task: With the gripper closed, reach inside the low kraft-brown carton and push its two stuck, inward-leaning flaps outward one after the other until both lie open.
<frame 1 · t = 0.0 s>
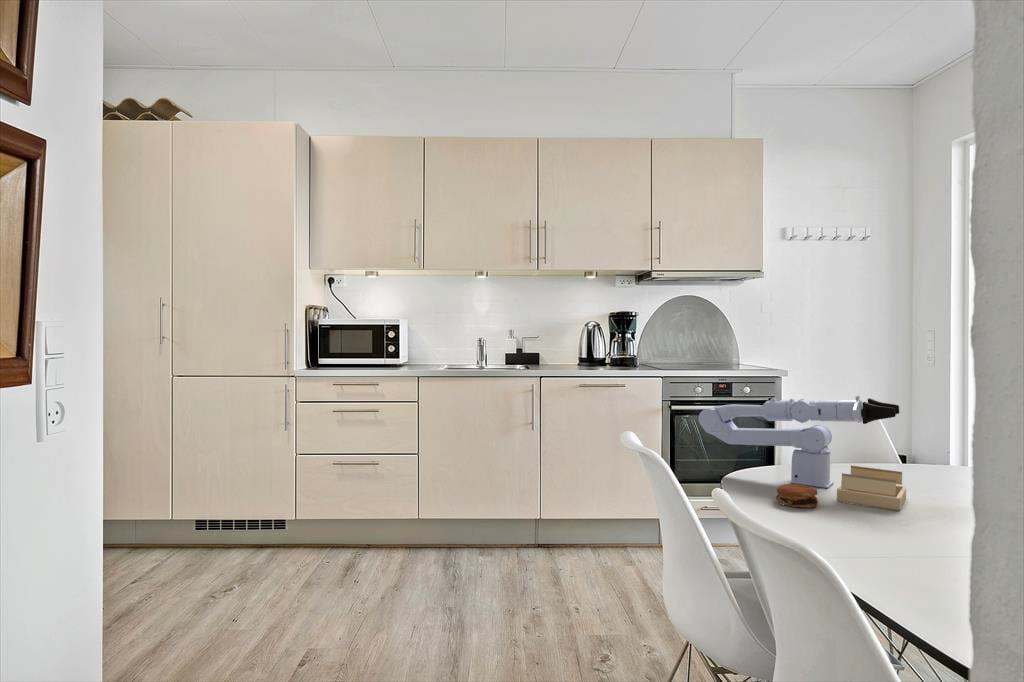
hand: (897, 410, 168), 22 cm above the table, tool horizontal, fingers open, 7 cm apart
flap 1: (868, 484, 159), point 5 cm above the table, hinge at -15.0°
flap 2: (875, 474, 169), point 5 cm above the table, hinge at -15.0°
burger: (796, 505, 161), on the table
carton: (871, 500, 164), on the table
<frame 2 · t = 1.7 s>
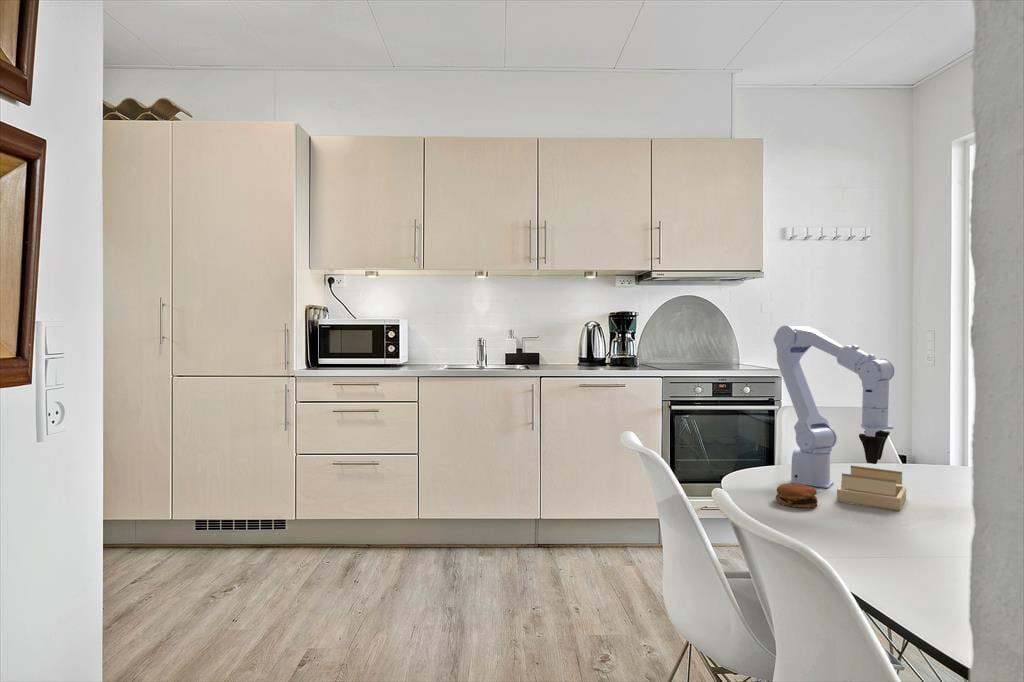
hand: (873, 461, 166), 9 cm above the table, tool pointing down, fingers open, 6 cm apart
nothing on the table moved.
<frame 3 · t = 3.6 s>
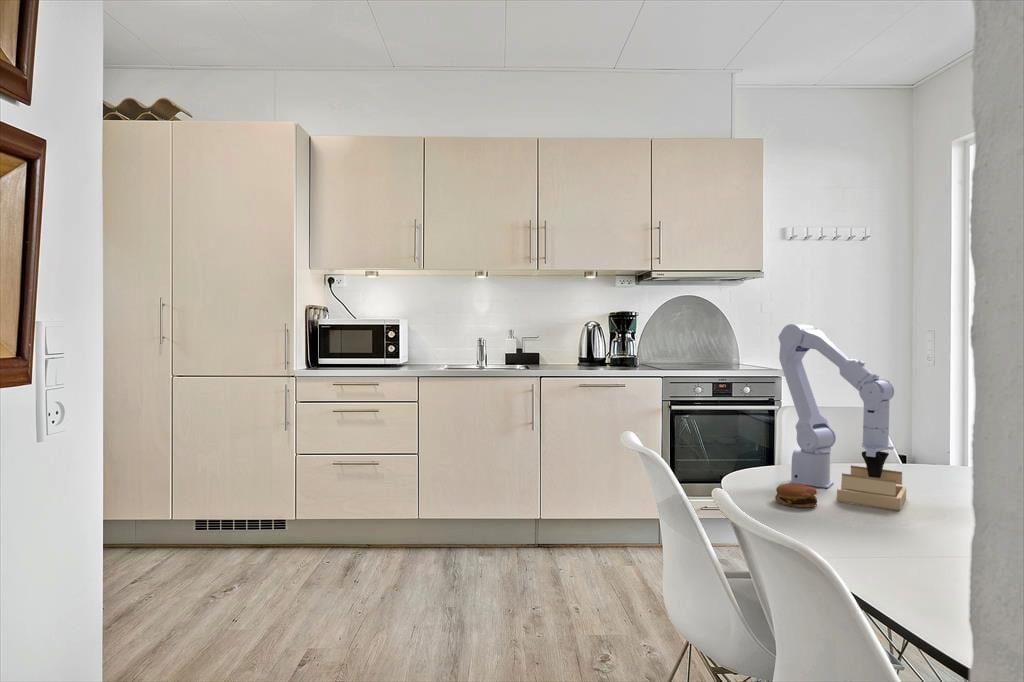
hand: (874, 480, 167), 4 cm above the table, tool pointing down, fingers closed
flap 2: (875, 474, 169), point 5 cm above the table, hinge at -15.0°, touching gripper
everything else where it was.
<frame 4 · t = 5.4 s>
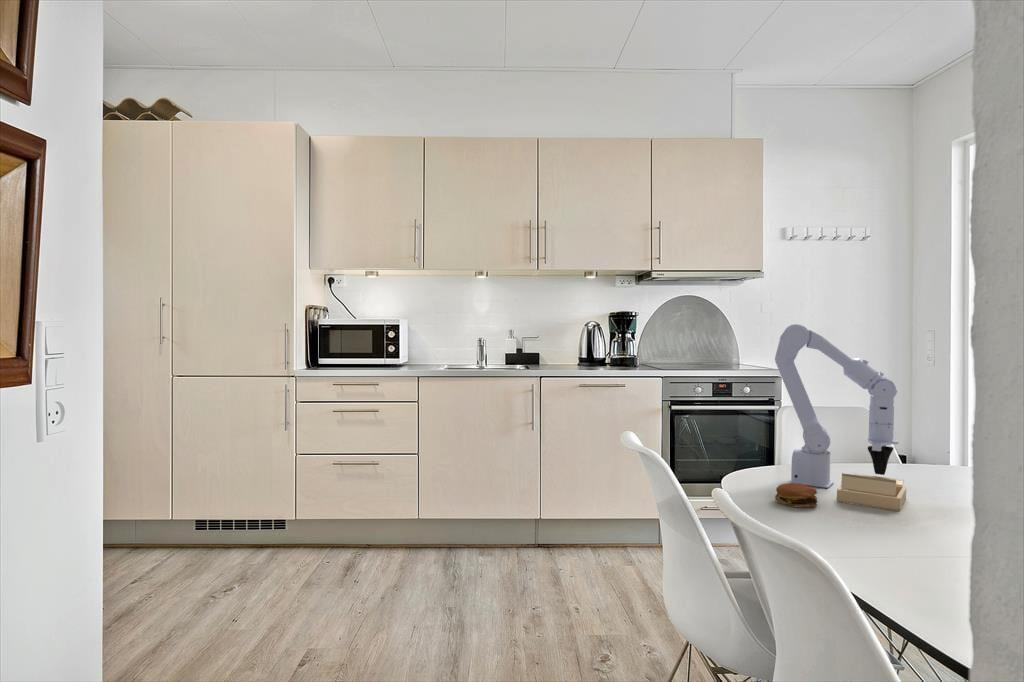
hand: (879, 474, 175), 4 cm above the table, tool pointing down, fingers closed
flap 2: (877, 479, 171), point 3 cm above the table, hinge at 80.3°
everything else where it was.
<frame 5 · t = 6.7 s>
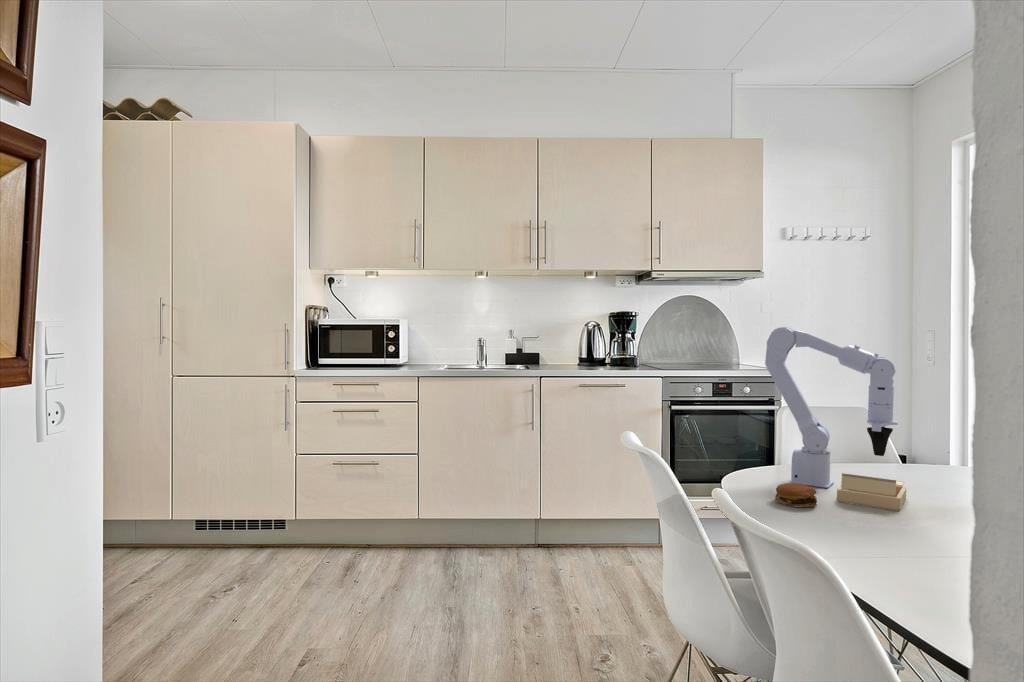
hand: (879, 455, 173), 9 cm above the table, tool pointing down, fingers closed
flap 2: (877, 480, 171), point 3 cm above the table, hinge at 85.8°
everything else where it was.
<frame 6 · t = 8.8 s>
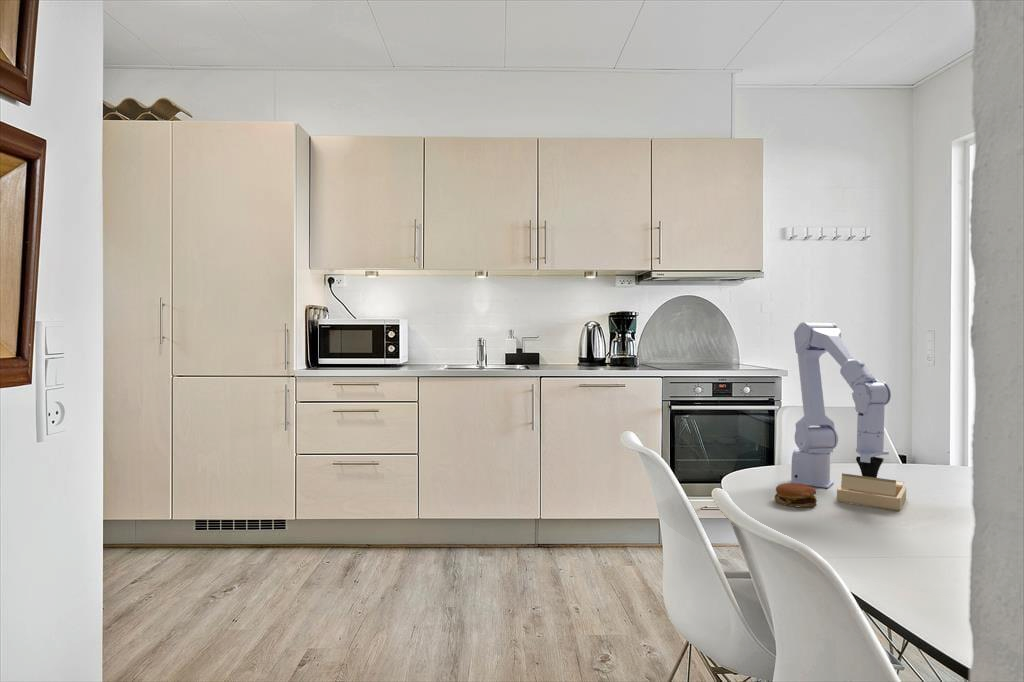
hand: (869, 487, 160), 4 cm above the table, tool pointing down, fingers closed, pressing on flap 1
flap 1: (868, 484, 159), point 5 cm above the table, hinge at -14.6°, touching gripper
flap 2: (877, 480, 171), point 3 cm above the table, hinge at 87.2°
everything else where it was.
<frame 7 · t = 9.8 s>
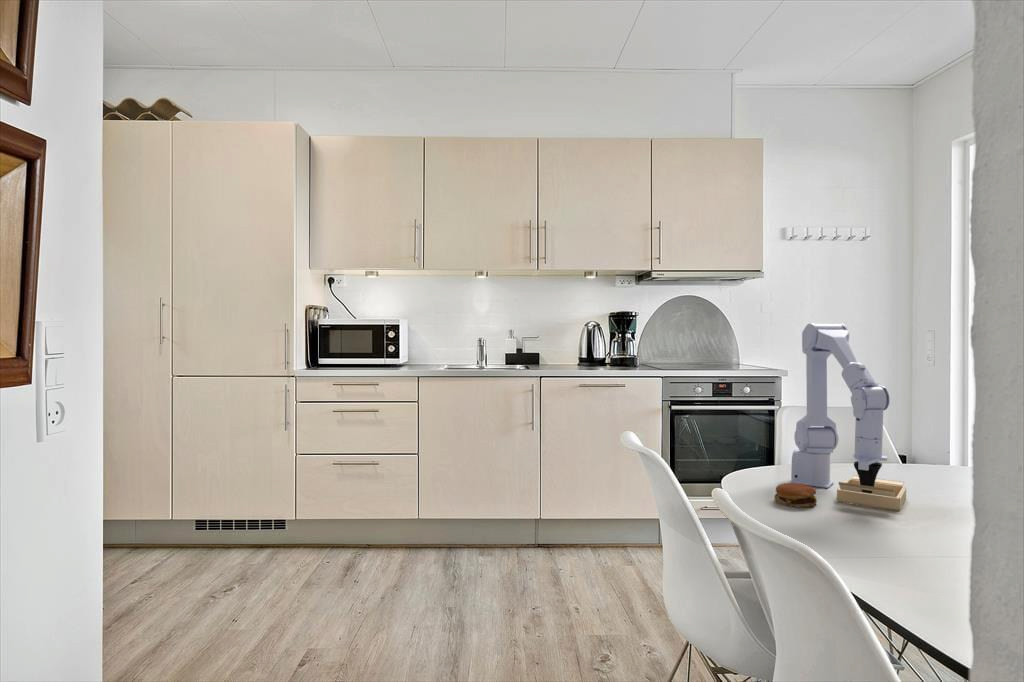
hand: (866, 492, 157), 4 cm above the table, tool pointing down, fingers closed, pressing on flap 1
flap 1: (866, 489, 157), point 4 cm above the table, hinge at 53.2°, touching gripper
everything else where it was.
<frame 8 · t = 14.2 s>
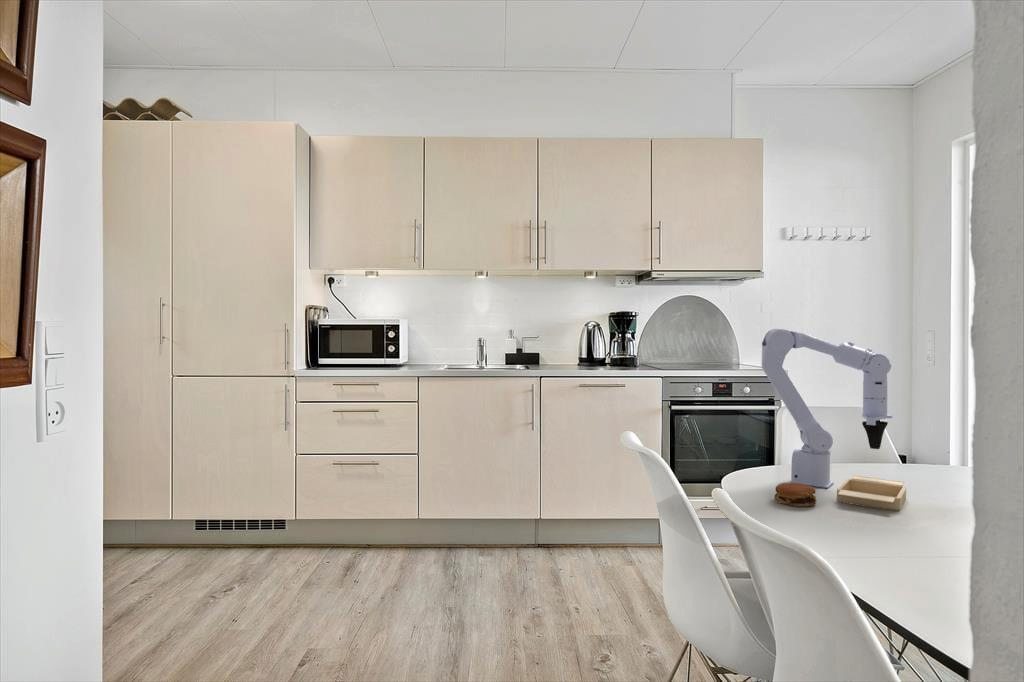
hand: (874, 448, 177), 10 cm above the table, tool pointing down, fingers closed
flap 1: (865, 496, 157), point 3 cm above the table, hinge at 95.8°
at the end: flap 2 at +87° (first picture: -15°); flap 1 at +96° (first picture: -15°) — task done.
